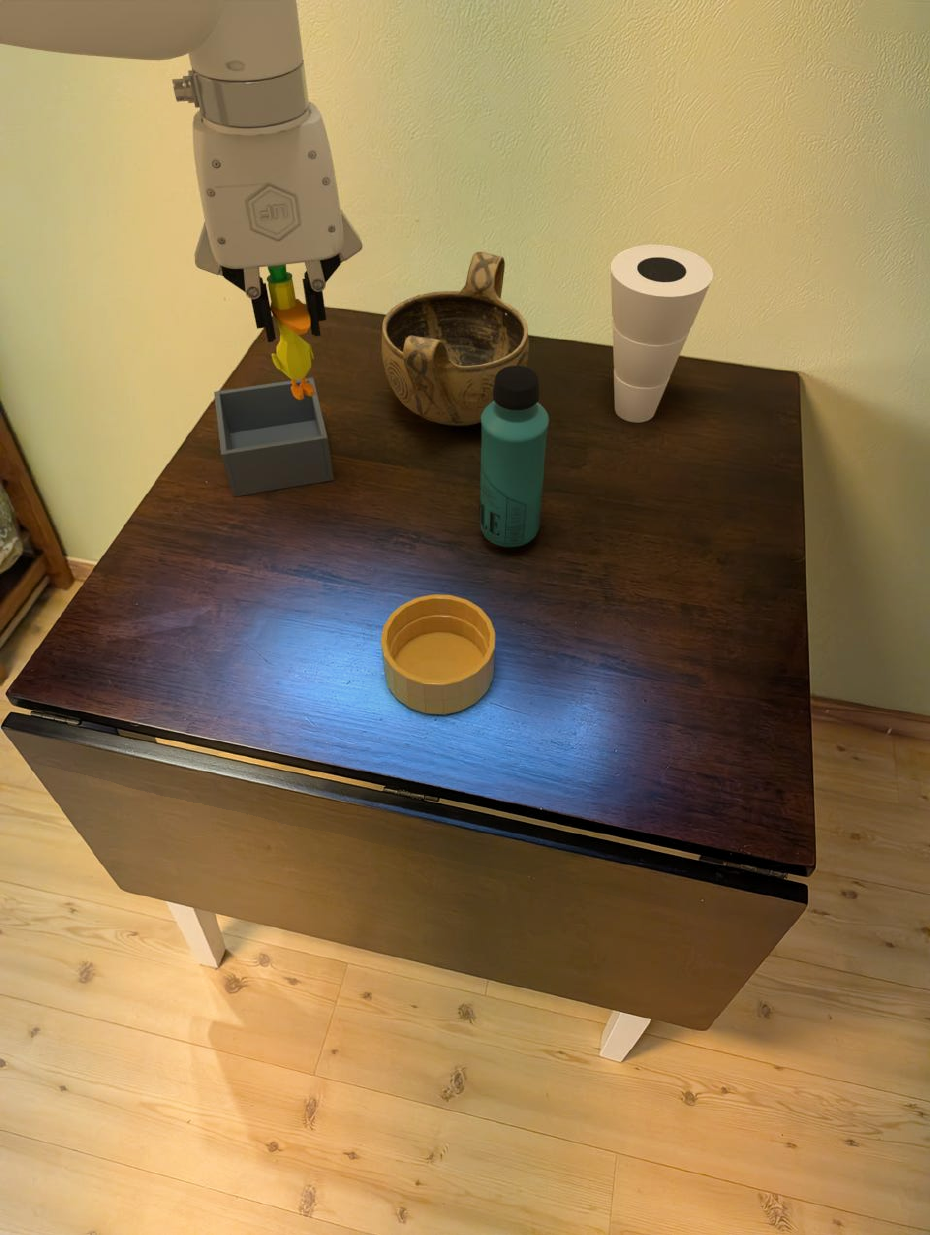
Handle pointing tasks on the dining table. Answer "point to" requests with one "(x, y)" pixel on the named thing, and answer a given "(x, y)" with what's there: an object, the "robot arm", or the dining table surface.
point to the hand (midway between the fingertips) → (292, 328)
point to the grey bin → (272, 438)
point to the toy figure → (290, 331)
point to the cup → (652, 321)
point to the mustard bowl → (438, 653)
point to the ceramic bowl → (454, 346)
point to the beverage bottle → (512, 459)
